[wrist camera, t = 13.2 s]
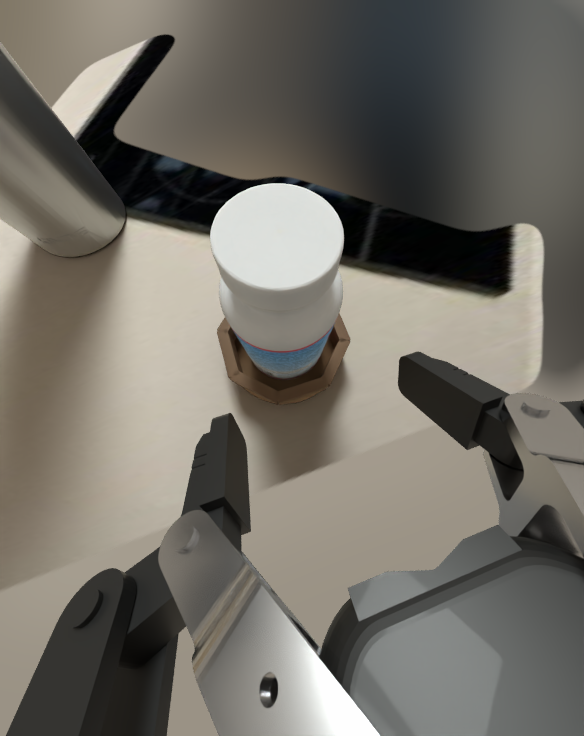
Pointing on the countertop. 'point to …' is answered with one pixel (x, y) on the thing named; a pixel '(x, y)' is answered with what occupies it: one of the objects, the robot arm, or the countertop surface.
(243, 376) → the bowl
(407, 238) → the countertop surface
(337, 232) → the pill bottle
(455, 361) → the countertop surface
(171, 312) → the countertop surface
